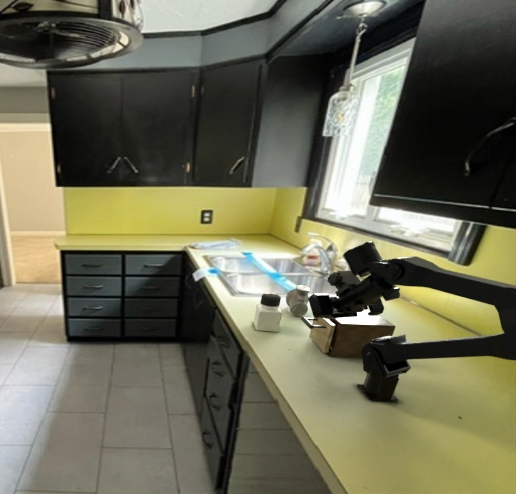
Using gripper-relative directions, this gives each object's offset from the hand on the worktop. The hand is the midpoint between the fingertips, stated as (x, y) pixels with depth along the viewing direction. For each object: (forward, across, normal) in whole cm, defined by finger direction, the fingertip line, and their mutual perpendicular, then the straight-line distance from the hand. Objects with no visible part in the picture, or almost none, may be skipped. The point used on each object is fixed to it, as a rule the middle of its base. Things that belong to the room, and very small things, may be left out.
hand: (325, 317), depth 103 cm
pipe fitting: (+33, -15, -16) cm, 40 cm away
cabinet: (+11, -13, +6) cm, 18 cm away
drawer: (+11, -8, +5) cm, 14 cm away
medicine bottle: (+24, +4, -7) cm, 25 cm away
